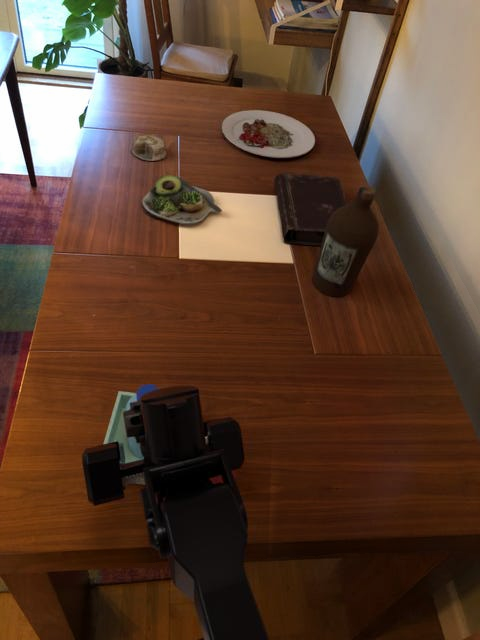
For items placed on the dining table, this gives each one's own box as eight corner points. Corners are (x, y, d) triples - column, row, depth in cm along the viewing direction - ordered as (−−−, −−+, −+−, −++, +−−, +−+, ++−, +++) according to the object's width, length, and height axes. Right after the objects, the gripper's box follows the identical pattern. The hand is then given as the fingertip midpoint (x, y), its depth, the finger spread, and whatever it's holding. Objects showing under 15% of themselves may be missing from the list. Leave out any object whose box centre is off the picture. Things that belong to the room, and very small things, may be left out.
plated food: (323, 132, 160) (326, 123, 158) (298, 173, 141) (301, 162, 138) (241, 107, 165) (242, 97, 162) (206, 143, 145) (207, 132, 143)
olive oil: (323, 261, 114) (355, 167, 96) (362, 282, 111) (403, 190, 93) (300, 283, 108) (330, 187, 90) (341, 306, 105) (381, 212, 86)
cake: (138, 142, 141) (138, 124, 137) (170, 150, 140) (172, 133, 137) (126, 156, 133) (126, 137, 130) (160, 164, 133) (161, 146, 129)
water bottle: (165, 462, 74) (166, 416, 64) (124, 457, 74) (119, 410, 64) (171, 426, 79) (174, 377, 69) (133, 421, 78) (130, 371, 68)
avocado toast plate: (232, 201, 126) (234, 185, 123) (205, 237, 114) (207, 222, 111) (166, 178, 129) (166, 163, 126) (133, 212, 117) (133, 196, 114)
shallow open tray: (179, 491, 73) (180, 477, 69) (99, 481, 72) (96, 467, 68) (191, 416, 82) (193, 400, 78) (120, 406, 81) (118, 390, 77)
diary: (281, 243, 117) (285, 227, 113) (272, 187, 133) (276, 171, 130) (354, 250, 119) (360, 234, 115) (336, 193, 136) (342, 177, 132)
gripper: (251, 390, 52) (214, 368, 67) (73, 426, 46) (75, 394, 61) (263, 487, 53) (224, 445, 68) (90, 534, 47) (88, 477, 62)
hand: (156, 438), depth 65 cm, fingers open, 9 cm apart
